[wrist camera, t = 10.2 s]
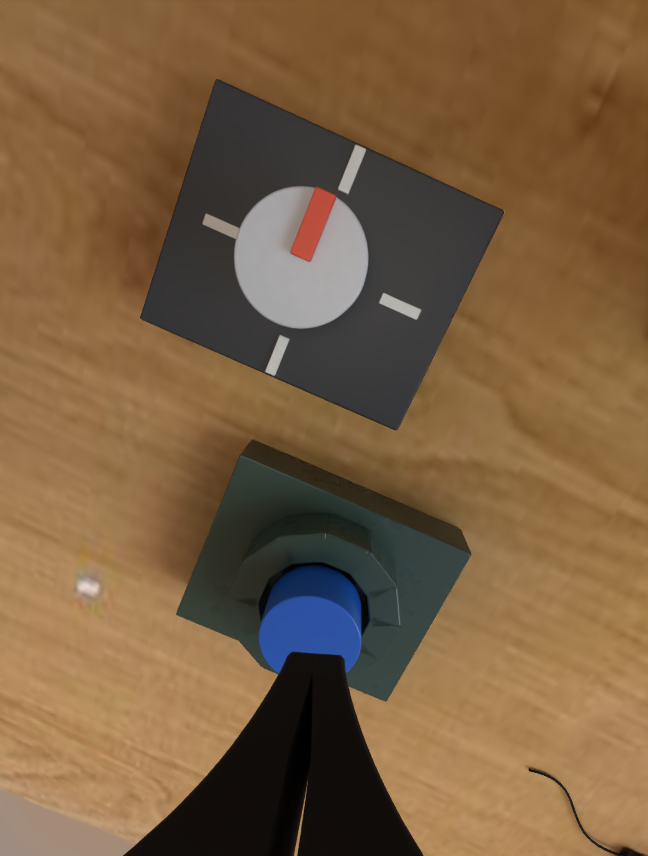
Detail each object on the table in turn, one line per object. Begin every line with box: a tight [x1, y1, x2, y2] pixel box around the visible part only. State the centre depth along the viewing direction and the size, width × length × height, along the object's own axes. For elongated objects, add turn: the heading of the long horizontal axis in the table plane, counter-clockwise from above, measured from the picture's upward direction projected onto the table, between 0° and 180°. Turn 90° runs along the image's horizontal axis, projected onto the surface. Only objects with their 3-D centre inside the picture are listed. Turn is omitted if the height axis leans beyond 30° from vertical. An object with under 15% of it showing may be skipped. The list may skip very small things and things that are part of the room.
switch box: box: [176, 440, 471, 702], centre depth 21 cm, size 10×8×4 cm
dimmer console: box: [140, 79, 504, 430], centre depth 18 cm, size 10×8×3 cm
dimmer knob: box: [234, 186, 368, 329], centre depth 15 cm, size 4×4×4 cm
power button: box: [259, 565, 361, 673], centre depth 18 cm, size 4×4×2 cm
